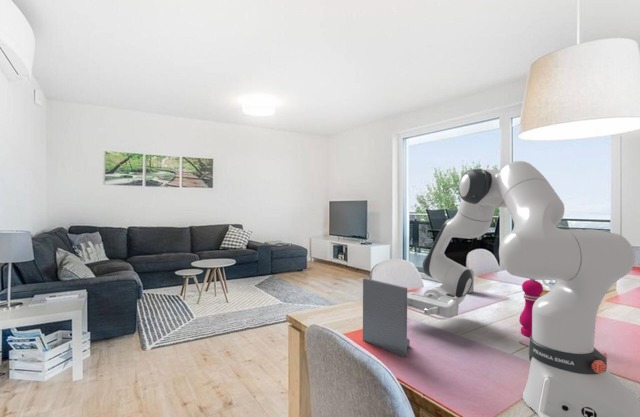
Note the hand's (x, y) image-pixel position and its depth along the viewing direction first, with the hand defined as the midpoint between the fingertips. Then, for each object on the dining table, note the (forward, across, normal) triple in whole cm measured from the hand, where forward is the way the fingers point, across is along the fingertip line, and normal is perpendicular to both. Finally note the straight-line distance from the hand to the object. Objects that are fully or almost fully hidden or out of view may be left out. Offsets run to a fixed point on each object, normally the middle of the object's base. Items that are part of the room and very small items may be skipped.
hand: (413, 308), depth 113 cm
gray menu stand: (+12, 0, +9) cm, 15 cm away
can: (-65, -14, +9) cm, 67 cm away
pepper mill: (-30, +26, +9) cm, 41 cm away
